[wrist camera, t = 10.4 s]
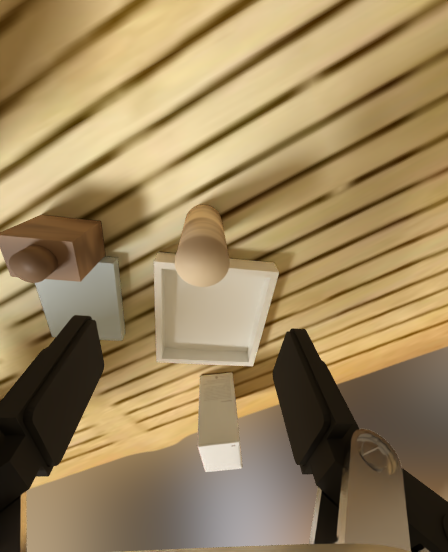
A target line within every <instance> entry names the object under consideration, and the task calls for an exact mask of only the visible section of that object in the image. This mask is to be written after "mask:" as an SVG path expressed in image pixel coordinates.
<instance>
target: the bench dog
mask: <svg viewBox="0 0 448 552" xmlns="http://www.w3.org/2000/svg"><path fill="white" fill-rule="evenodd" d="M0 249H1V251H2V254H3V257H4V259H5V262H6V265H7V267H8V270H9V272H10V275H11V276H12V277H19V278H20V279H22V280H24V281H27V282H31V283H38V282H41V281H43V280H44V279H51V280H64V281H77V282H81V281H82V280H83V279H84V278H85V276H86V275H87V274H88V273H89V272H90V271H91V270H92V269H93V268H94V267H95V266H96V265H97V264H98V262H99V261H100V260H101V259H102V258H103V257H104V256H105V255H106V254H105V247H104V240H103V233H102V225H101V221H95V220H85V219H76V218H66V217H56V216H47V215H40V216H37V217H35V218H33V219H30V220H28V221H26V222H24V223H21V224H19V225H17V226H14V227H12V228H10V229H7V230H5V231H3V232H0Z"/></svg>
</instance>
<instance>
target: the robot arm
mask: <svg viewBox="0 0 448 552" xmlns="http://www.w3.org/2000/svg"><path fill="white" fill-rule="evenodd" d="M103 369H104V360H103V355H102V350H101V345H100V339H99V334H98V329H97V324H96V321H95V320H92V317H91V316H82V315H74V316H73V317H72V318H71V319H70V320H69V321H68V323H67V324H66V325H65V327H64V328H63V329H62V330H61V332H60V333H59V334H58V335H57V337H56V338H55V339H54V340H53V342H52V343H51V344H50V346H49V347H47V348H45V349H43V350H42V351H41V352H40V353H39V355H38V356H37V357H36V358H35V360H34V361H33V362H32V363H31V365H30V366H29V367H28V368H27V369H26V371H25V372H24V373H23V374H22V376H21V377H20V378H19V379H18V381H17V382H16V383H15V384H14V386H13V387H12V388H11V389H10V391H9V392H8V393H7V394H6V396H5V397H4V398H3V399H2V400H1V402H0V552H27V532H26V530H27V528H26V524H27V523H26V491H27V490H28V489H29V488H30V486H31V484H32V482H33V480H34V479H35V477H36V476H49V475H50V473H51V471H52V469H53V467H54V466H57V465H58V464H59V463H60V462H61V460H62V458H63V456H64V454H65V452H66V449H67V447H68V445H69V443H70V441H71V439H72V437H73V434H74V432H75V430H76V428H77V426H78V424H79V422H80V420H81V417H82V415H83V413H84V411H85V409H86V407H87V405H88V402H89V400H90V398H91V396H92V394H93V392H94V390H95V387H96V385H97V383H98V381H99V379H100V377H101V375H102V372H103ZM273 380H274V384H275V388H276V392H277V395H278V399H279V403H280V407H281V410H282V414H283V417H284V422H285V426H286V429H287V433H288V437H289V441H290V444H291V448H292V452H293V456H294V459H295V462H296V464H297V465H300V467H301V471H302V474H313V476H314V479H315V483H316V485H317V486H318V491H317V497H316V503H315V509H314V516H313V522H312V528H311V534H310V541H309V544H300V545H271V546H245V547H244V546H243V547H218V548H217V547H216V548H193V549H168V550H146V551H121V552H448V502H447V501H446V500H444V499H443V498H442V497H440V496H439V495H438V494H436V493H435V492H434V491H432V490H431V489H430V488H428V487H427V486H425V485H424V484H423V483H421V482H420V481H419V480H418V479H416V478H415V477H413V476H412V475H411V474H409V473H408V472H407V471H405V470H404V469H403V468H402V466H401V462H400V459H399V457H398V455H397V453H396V451H395V450H394V449H393V448H392V446H391V445H390V444H389V443H388V442H387V441H386V440H385V439H384V438H383V437H382V436H380V435H379V434H377V433H376V432H373V431H371V430H368V429H359V428H358V425H357V424H356V422H355V420H354V418H353V416H352V414H351V412H350V410H349V408H348V407H347V404H346V402H345V400H344V398H343V397H342V395H341V393H340V391H339V389H338V387H337V385H336V383H335V381H334V379H333V377H332V375H331V373H330V371H329V369H328V368H327V366H326V364H325V363H324V362H323V361H322V360H321V359H320V357H319V355H318V353H317V351H316V349H315V347H314V345H313V343H312V341H311V339H310V337H309V335H308V333H307V331H306V330H305V329H291V330H290V332H286V335H285V338H284V341H283V344H282V346H281V349H280V352H279V355H278V358H277V361H276V364H275V366H274V369H273Z"/></svg>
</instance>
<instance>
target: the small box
mask: <svg viewBox="0 0 448 552" xmlns="http://www.w3.org/2000/svg"><path fill="white" fill-rule="evenodd" d="M197 446H198V450H199V453H200V456H201V459H202V463H203V466H204V469H205V472H210V471H221V470H231V469H240V468H242V457H241V447H240V438H239V427H238V417H237V408H236V398H235V388H234V380H233V373H232V372H230V373H221V374H212V375H203V376H200V387H199V416H198V443H197Z"/></svg>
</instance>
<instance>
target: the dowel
mask: <svg viewBox="0 0 448 552" xmlns="http://www.w3.org/2000/svg"><path fill="white" fill-rule="evenodd" d="M229 264H230V261H229V255H228V250H227V245H226V240H225V235H224V230H223V225H222V220H221V216H220V214H219V213H218V211H217V210H216V209H215V208H213V207H211V206H209V205H198V206H195V207H194V208H192V209H191V210H190V211H189V212H188V214H187V216H186V220H185V223H184V227H183V231H182V234H181V238H180V242H179V245H178V249H177V253H176V256H175V268H176V271H177V273H178V275H179V276H180V277H181V278H182V279H183V280H184V281H185V282H187V283H188V284H191V285H193V286H197V287H208V286H212V285H214V284H216V283H218V282H220V281H221V280H222V279H223V278H224V277H225V276H226V274H227V272H228V270H229Z"/></svg>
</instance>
